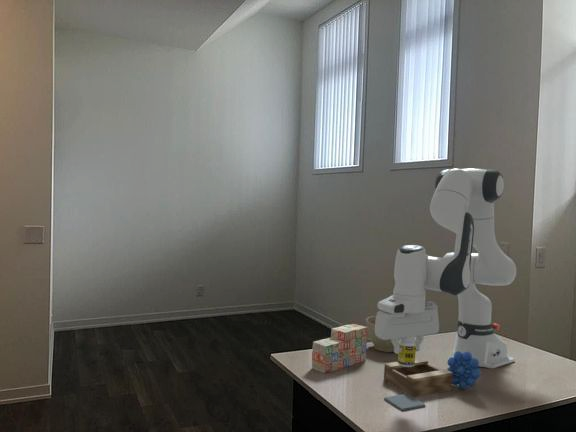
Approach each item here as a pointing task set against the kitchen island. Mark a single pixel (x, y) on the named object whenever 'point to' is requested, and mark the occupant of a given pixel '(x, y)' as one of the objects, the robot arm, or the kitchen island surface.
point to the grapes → (464, 369)
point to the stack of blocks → (340, 348)
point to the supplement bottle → (407, 352)
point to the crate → (418, 378)
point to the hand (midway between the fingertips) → (406, 351)
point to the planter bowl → (378, 343)
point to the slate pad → (404, 402)
